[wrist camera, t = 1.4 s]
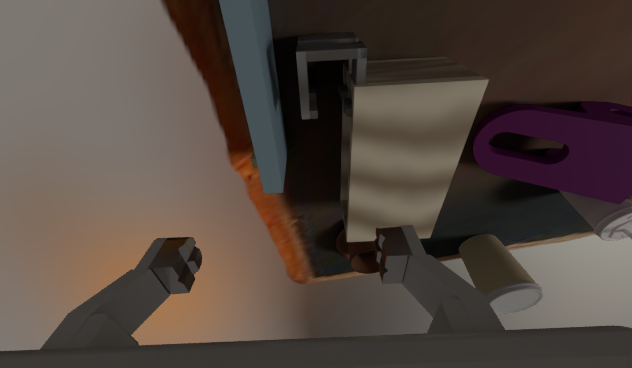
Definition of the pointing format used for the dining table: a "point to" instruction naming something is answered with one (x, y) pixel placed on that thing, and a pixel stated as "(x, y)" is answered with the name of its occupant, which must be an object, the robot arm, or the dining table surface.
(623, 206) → the smoothie
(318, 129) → the dining table surface
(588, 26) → the dining table surface
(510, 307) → the coffee cup
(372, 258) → the cup and saucer
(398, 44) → the dining table surface
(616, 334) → the robot arm
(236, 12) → the door
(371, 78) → the cabinet
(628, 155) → the mounting bracket
